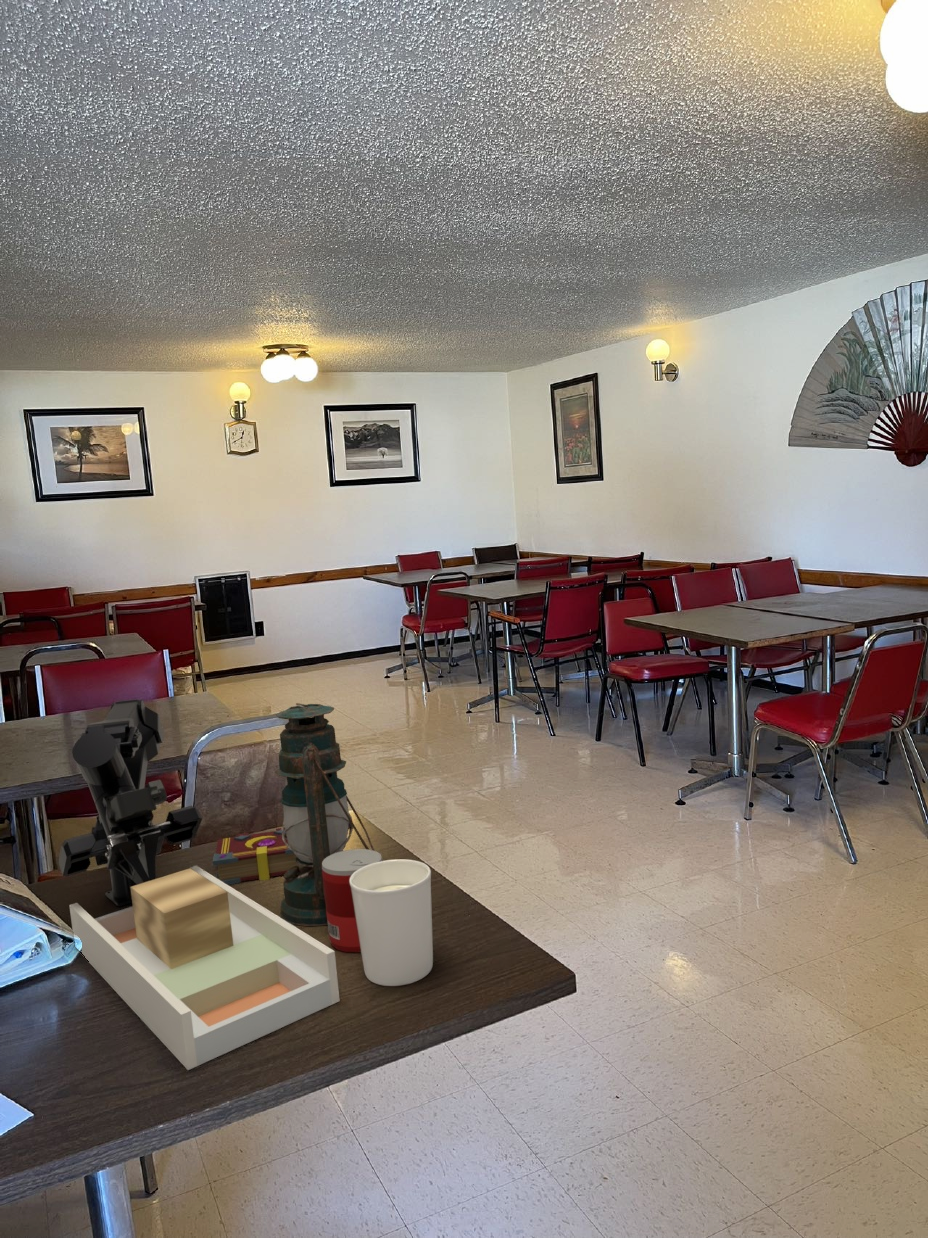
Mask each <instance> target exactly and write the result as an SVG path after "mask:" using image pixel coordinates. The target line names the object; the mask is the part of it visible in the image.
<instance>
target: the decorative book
mask: <svg viewBox="0 0 928 1238" xmlns="http://www.w3.org/2000/svg"><path fill="white" fill-rule="evenodd" d="M281 828H282V827H279V828H275V830H273V831H267V832H261V833H260V832H258V833H253V834H250V833H249V832H245V833H237V834H235V836H233V837H225V838H219V839H217V843H216V849H215V853H213V858H212V866H214V867H215V866H217V873H216V875H215V877H216V878H217V879H219V880H220V881H222V882H224V883H225V884H227V885H228V886H230V885H236V884H241V882H245V881H253V880H259V881H260V882H261V881H267V880H270V877H276V876H277V877H278V876H279V877H280V876H284V874H285V873H286V872H287V871H288V870H289V869H291V868H292V867H294V866H298V867H299V869H300V868H302V867H303V866H300V865H298V864H297V863H296V861H295V858H296V857H297V856H296V855H295V854H294V852H293V851H292V850H290V849H289V848H288V847H287V846H286V845H285V843H284V841H283V840H282V832H281ZM284 831H285V826H284ZM284 831H283V832H284ZM283 835H284V833H283ZM285 840H286V842H287V844H288V840H287V839H286V838H285ZM288 845H289V844H288ZM297 862H298V863H300V862H299V861H297ZM300 864H301V863H300ZM303 865H306V864H303Z"/></svg>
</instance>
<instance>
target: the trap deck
mask: <svg viewBox="0 0 928 1238" xmlns="http://www.w3.org/2000/svg"><path fill="white" fill-rule="evenodd" d="M189 868H190V869H192V870H193V871H195V872H197V873H198V874H200V875H201V876H203V877H204V878H206V879H208V880H209V881H211V882H212V883H214V884H215V885H217V886H219V887H220V888H222V889H223V890H225V891H227V893H228V902H229V911H230V919H231V928H232V937H233V946H231V947H229V948H226V949H223V950H221V951H218V952H215V953H213V954H210V955H207V956H205V957H202V958H200V959H197V960H194V961H192V962H189V963H186V964H184V965H181V966H178V967H176V968H173V969H170V968H169V967H168V966H167V965H166V964H165V963H164V962H162V961H161V960H160V959H159V958H158V957H157V956H156V955H155V954H154V953H152V952H151V951H150V950H149V949H148V948H147V947H146V946H145V945H144V944H142V943H141V942H140V941H139V940H138V939H137V936H136V928H135V920H134V912H133V905H132V906H129V907H127V908H124V909H123V908H122V909H121V910H117V911H114V912H111V913H108V914H105V915H101V916H99V917H96V918H94V917H93V916H92V915H91V914H89V913H88V912H87V910H86V909H84V908H83V907H82V906H81V905H80V904H79V903H78V902H75V903H74V902H73V903H71V904H69V913H70V920H71V928H72V933H73V932H74V934H75V935H77V936H78V937H79V938H80V940H81V942H82V951H81V952H82V954H83V955H84V956H85V958H86V959H87V960H88V961H89V962H88V961H87V960H86V959H85V958H84V959H85V960H86V961H87V962H88V963H89V964H90V965H91V966H92V967H93V968H94V970H95V971H96V972H97V973H98V974H99V975H100V976H101V977H102V978H103V979H104V980H105V982H106V983H107V984H108V985H109V986H110V987H111V988H112V989H113V990H114V992H116V994H117V995H118V996H119V997H120V999H122V1000H123V1001H124V1003H126V1005H127V1006H128V1007H129V1008H130V1009H131V1010H132V1011H133V1012H134V1013H135V1014H136V1015H137V1016H138V1017H139V1019H140V1020H141V1021H142V1022H143V1023H144V1024H145V1026H146V1027H147V1028H148V1029H149V1030H151V1032H152V1033H153V1035H155V1036H156V1037H157V1038H158V1039H159V1041H161V1043H162V1044H163V1045H164V1046H165V1047H166V1048H167V1049H168V1050H169V1051H170V1052H171V1054H172V1055H173V1056H174V1057H175V1058H176V1059H177V1060H178V1061H179V1062H180V1064H181V1065H183V1067H185V1069H186V1070H187V1071H190V1070H192V1069H194V1068H197V1067H199V1066H200V1065H203V1064H205V1063H207V1062H209V1061H211V1060H214V1059H216V1058H217V1057H218V1058H219V1057H220V1056H223V1055H224V1054H225V1055H226V1054H227V1053H229V1052H231V1051H233V1050H236V1049H237V1048H240V1047H242V1046H244V1045H246V1044H248V1043H251V1042H253V1041H255V1040H258V1039H259V1038H262V1037H264V1036H267V1035H268V1034H270V1033H273V1032H275V1031H278V1030H280V1029H281V1028H283V1027H286V1026H289V1025H291V1024H292V1023H295V1022H297V1021H299V1020H301V1019H304V1018H306V1017H308V1016H310V1015H312V1014H314V1013H317V1012H319V1011H321V1010H324V1009H325V1008H329V1006H332V1005H335V1004H336V1003H338V1002H340V1001H341V1000H340V992H339V981H338V972H337V960H336V951H335V950H333V949H332V948H330V947H329V946H327V945H325V944H324V943H322V942H320V941H319V940H317V939H316V938H314V937H312V936H311V935H309V934H308V933H306V932H304V931H303V930H301V929H300V928H298V927H296V925H294V924H291V923H289V922H287V921H285V920H284V919H283V918H282V917H280V916H279V915H277V914H275V913H273V912H272V911H271V910H269V909H267V908H266V907H265V906H263V905H261V904H259V903H257V902H256V901H254V900H253V899H251V898H250V897H248V896H246V895H245V894H243V893H241V892H240V891H239V890H236V889H235V888H233V887H232V886H230V885H227V884H225V883H224V882H222V881H220V880H219V879H217V878H216V876H214V875H212V874H210V873H209V872H207V871H206V870H205V869H203V868H201V867H200V866H198V865H193V866H189ZM82 954H81V955H82ZM83 955H82V956H83ZM84 956H83V957H84Z"/></svg>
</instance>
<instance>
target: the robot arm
mask: <svg viewBox="0 0 928 1238" xmlns="http://www.w3.org/2000/svg"><path fill="white" fill-rule="evenodd" d="M163 743H164V731H163V725H162V722H161V718H160V715H159V714H158V713H157V712H155V711H154V710H152V709H151V708H148V707H147V706H146V705H145V703H144V700H143V699H139V698H134V699H125V700H124V699H123V700H117V701H115V702H113V703H112V702H111V704H110V711H109V712H108V713H107V715H106V717H105V718H104V720H101V721H97V722H91V723H89V724H87V725H86V728H85V731H84V732H82V733H81V735H80V738H78V740H77V741H76V742H75V743H74V746H73V747H72V751H71V752H72V753H71V754H72V758H73V760H74V762H75V763H76V766H77V767H78V769H79V771H80V773H81V775H82V777H83V780H84V782H86V783H87V785H88V786H87V787H88V788H89V791H90V793H91V797H92V799H93V801H94V805H95V808H96V810H97V816H96V820H95V825H93V826H92V827H91V832H88V833H85V834H82V835H78V836H74V837H71V838H67V839H64V841H63V842H62V844H61V847H60V851H59V855H58V857H59V858H58V865H59V869H60V872H61V875H62V876H63V877H65V878H66V877H71V876H73V875H77V874H82V873H83V872H86V871H87V870H88V869H89V867H90V865H91V863H92V862H91V860H90V858H95V861H96V866H102V865H106V868H107V869H108V870H109V873H110V874H109V875H110V882H111V889H112V890H108V891H106V892H105V896H106V897H107V899H109V900H110V901H111V902H113V904H115V905H116V906H117V907H122V906H125V905H128V904H132V896H131V888H130V887H132V886H135V885H138V884H141V883H144V882H148V881H151V880H154V879H156V857H157V856H158V855H159V854H160V853H162V846H163V843H164V840H166V842H167V844H171V845H173V846H175V845H179V844H182V843H185V842H188V841H191V840H193V839H195V838H196V835H197V833H198V830H199V829H200V825H201V823H202V819H203V818H202V815H201V814H200V811H199V809H197V808H196V807H195V806H193V805H188V806H184V807H181V808H178V809H174V810H173V809H172V810H170V811H168V812H167V815H166V819H165V821H164V822H160V823H157V824H154V823H153V819H154V813H153V811H156V810H157V806H158V805H163V804H164V803H165V802H166V801H167V800H168V795H167V791H166V788H165V786H164V784H163V782H162V780H161V779H157V780H153V781H149V782H148V783H147V784H145V783H146V776H147V770H148V762H150V761H151V760H153V759H154V758H155V757H157V756H158V755H159V752H160V746H161V744H163Z"/></svg>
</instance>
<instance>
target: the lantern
mask: <svg viewBox="0 0 928 1238" xmlns="http://www.w3.org/2000/svg"><path fill="white" fill-rule="evenodd" d="M334 709H335V707H333V706H329V705H323V704H320V703H319V704H318V703H308V704H304V703H298V702H297V703H295V706H290V707H289V708H287V709H285V710H282V711H280V712H278V713H276V717H277V718H278V719H282V720H283V719H284V720H288V722H286V723H285V724H284V729H283V730H282V731H281V732H280V734H279V740H280V750H279V753H278V764H279V765H278V766H279V769H277V770H275V774H276V775H277V776H278V777H283V778H286V783H287V784H286V785H285V786H284V788H283V789H282V790H281V797H282V798H280V803H281V804H282V806H283V822H282V825H281V827H280V828H281V832H282V840H283V841H284V843H285V845H286V846H287V847H288V848H289V849H290V850H292V851H293V852H294V854H295V855H296V856H297V857H296V858H295V861H296V863H297V864H298V865H300V866H303V867H302V868H300V869H299V867H298V866H294V867H292V868H291V869H289V870H288V871H287V872H286V873H285V874H284V875H282V876H283V878H284V881H283V883H282V884H283V885H282V887H283V896H284V898H283V899H282V901H281V902H280V913H279V914H280V916H281V917H280V918H282V919H283V920H285V921H287V922H288V923H290V924H291V925H293V926H302V927H320V926H328V922H327V913H326V903H325V894H324V885H323V875H322V862H323V860H324V859H325V858H326V857H328V856H330V855H332V854H335V853H337V852H341V851H344V849H345V848H346V847H347V843H348V842H349V841H350V839H351V836H352V833H353V830H354V832H355V834H356V835H357V837H358V839H359V840H360V842H361V844H362V845H363V846H364V849H367V850H370V848H371V850H373V851H376V849H375V848H374V846H373V843H372V841H371V838H370V836H369V833H368V832H367V829H366V828H365V825H364V823H363V822H362V819H361V817H360V816H359V814H358V812H357V810H356V809H355V808H354V805H353V804H352V802H351V801H350V799H349V797H348V792H347V789H345V783H344V781H343V779H341V778H339V777H338V772H339V771H340V770H342V769H344V768H345V767H346V764H347V760H343V759H342V757H341V750H340V749H341V748H340V743H338V742H337V739H336V729H335V727H334V726H333V725H332V724H329V722H330V721H329V720H328V719H327V718H326V717H325V715H328V714H331V713H333V711H334ZM348 804H349V806H348ZM349 807H350V809H351V810H352V811H353V813H354V815H355V817H356V819H357V820H358V822H359V824H360V825H361V827H362V829H363V832H364V834H365V835H366V838H367V841H368V844H369V846H370V848H369V847H368V845H367V844H366V841H365V839H363V837H362V836H361V834H360V832H359V831H358V828H357V827H356V826H355V824H354V821H353V817H352V815H351V813H350V811H349ZM284 827H285V831H284ZM283 831H284V832H283ZM283 833H284V835H283ZM285 838H286V839H287V840H288V844H289V845H288V844H287V842H286V840H285ZM297 861H299V862H300V863H301V864H300V863H298V862H297ZM303 864H306V865H303Z"/></svg>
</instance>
